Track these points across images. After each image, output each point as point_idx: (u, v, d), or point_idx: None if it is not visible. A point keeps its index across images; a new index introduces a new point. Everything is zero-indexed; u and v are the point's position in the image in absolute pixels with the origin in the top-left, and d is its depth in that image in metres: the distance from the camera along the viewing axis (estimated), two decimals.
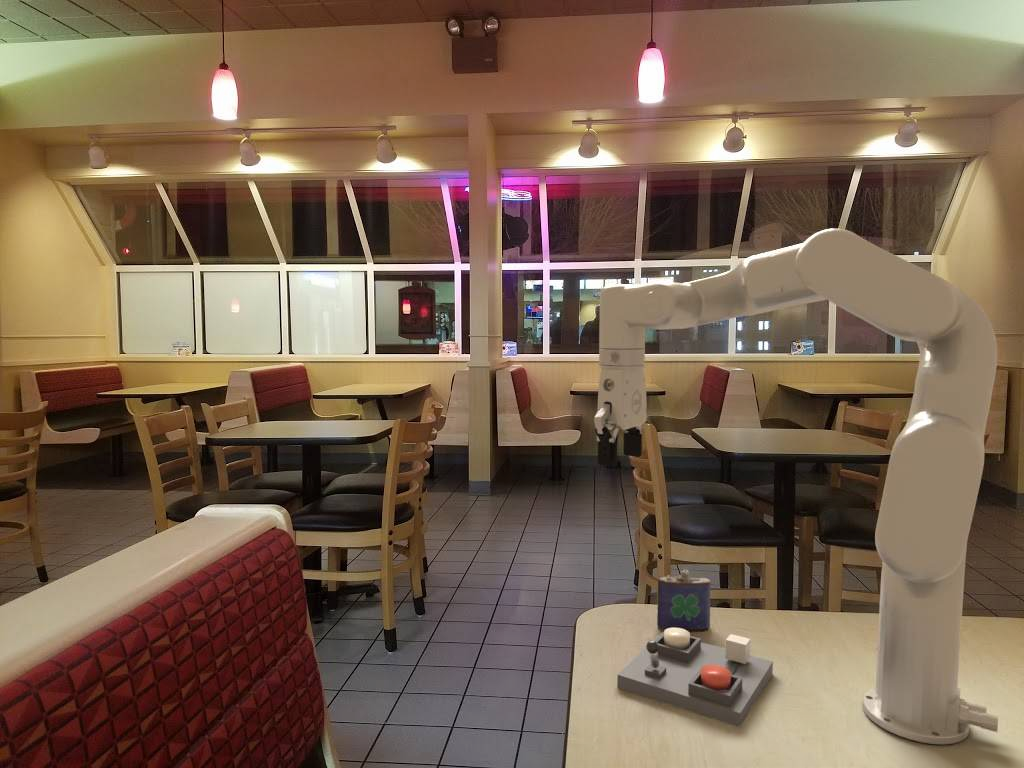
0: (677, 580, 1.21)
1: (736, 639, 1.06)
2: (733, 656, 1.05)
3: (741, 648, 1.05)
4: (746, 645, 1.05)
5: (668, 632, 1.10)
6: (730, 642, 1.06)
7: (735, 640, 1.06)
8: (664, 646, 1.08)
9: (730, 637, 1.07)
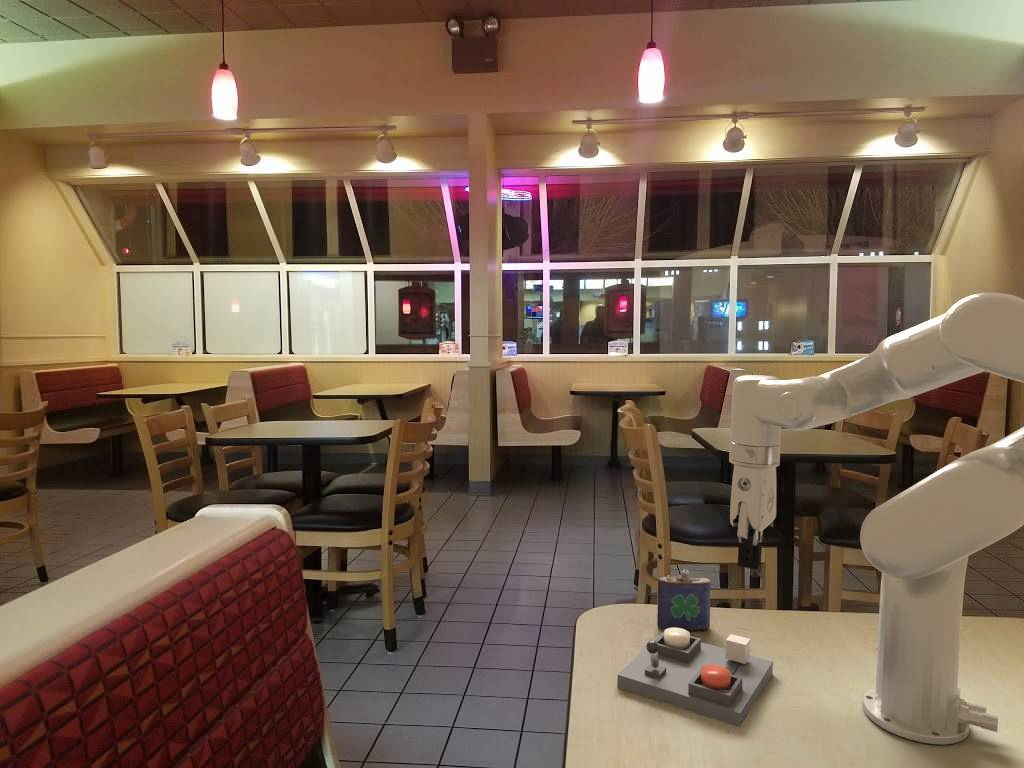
0: (677, 580, 1.21)
1: (736, 639, 1.06)
2: (733, 656, 1.05)
3: (741, 648, 1.05)
4: (746, 645, 1.05)
5: (668, 632, 1.10)
6: (730, 642, 1.06)
7: (735, 640, 1.06)
8: (664, 646, 1.08)
9: (730, 637, 1.07)
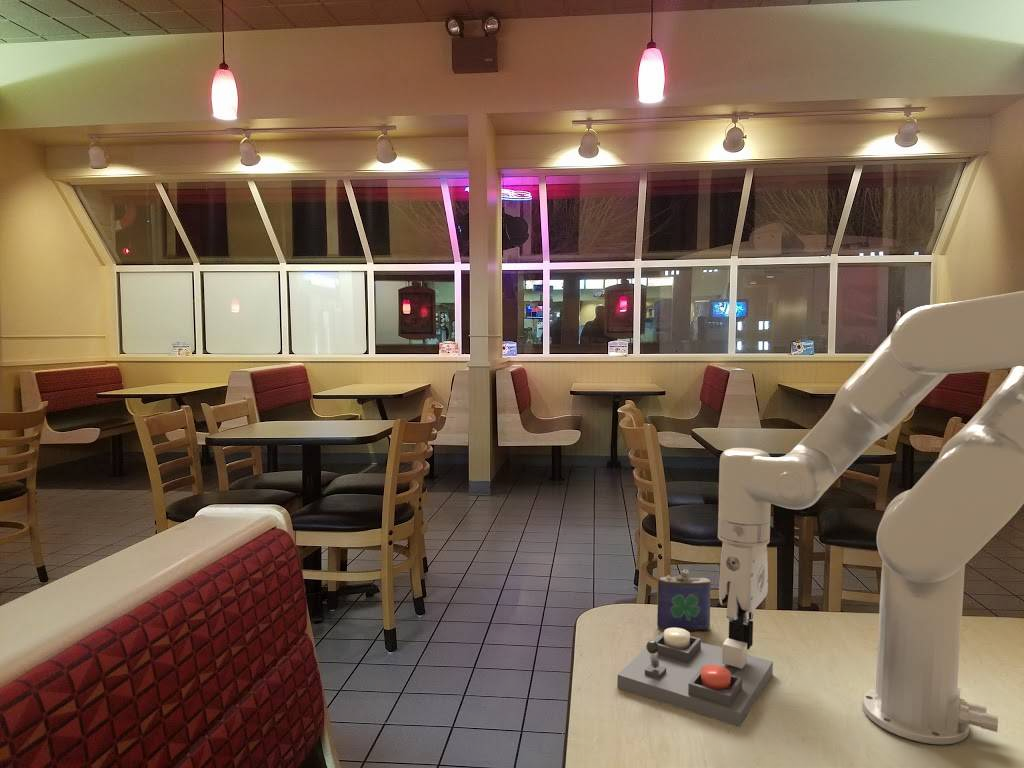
0: (677, 580, 1.21)
1: (733, 643, 1.05)
2: (730, 660, 1.04)
3: (738, 652, 1.03)
4: (743, 649, 1.03)
5: (668, 632, 1.10)
6: (727, 646, 1.04)
7: (732, 644, 1.04)
8: (664, 646, 1.08)
9: (727, 641, 1.05)
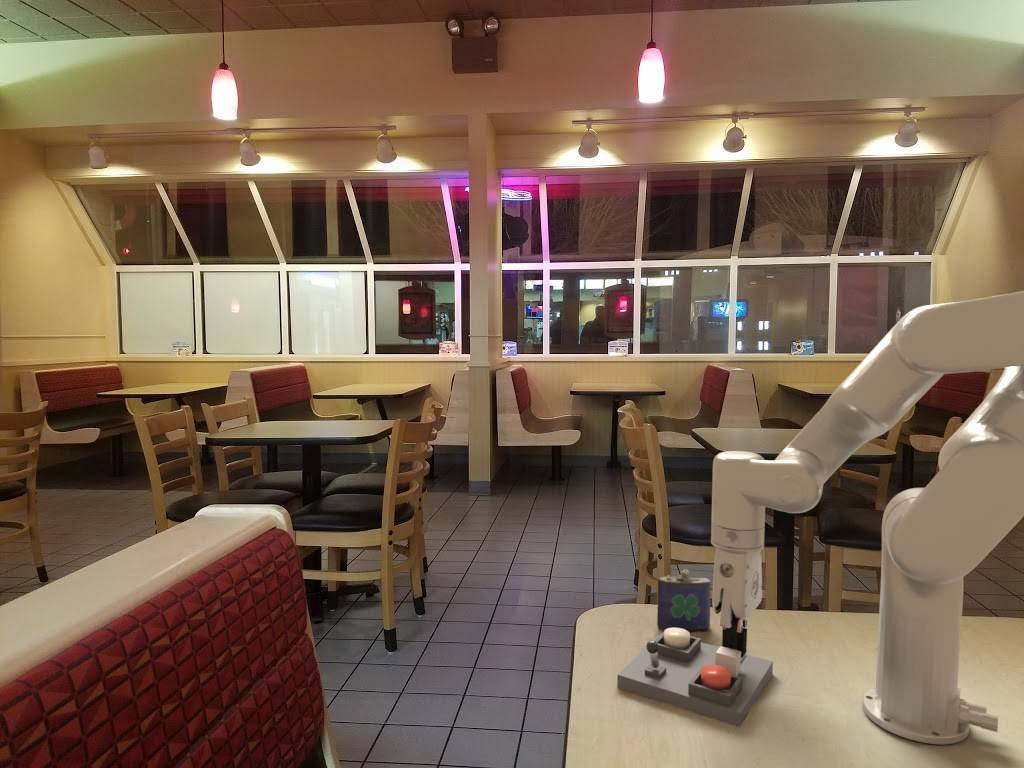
0: (677, 580, 1.21)
1: (726, 652, 1.02)
2: None
3: (732, 661, 1.01)
4: (736, 658, 1.01)
5: (668, 632, 1.10)
6: (720, 655, 1.02)
7: (726, 653, 1.02)
8: (664, 646, 1.08)
9: (720, 649, 1.03)
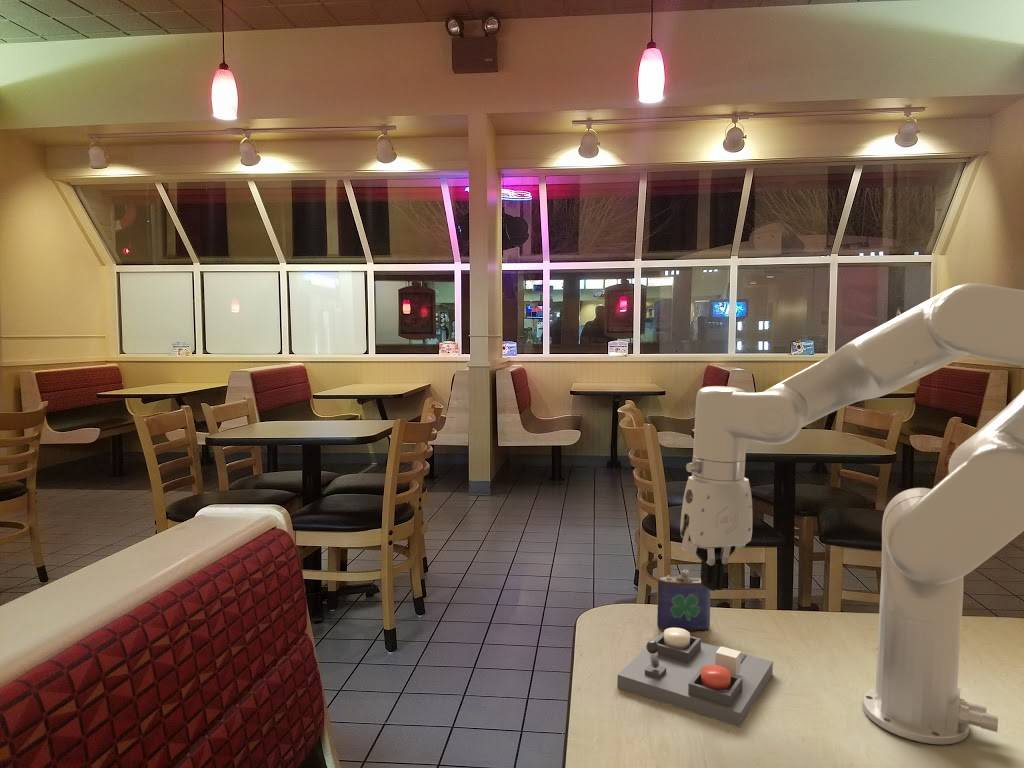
0: (677, 580, 1.21)
1: (726, 652, 1.02)
2: None
3: (731, 661, 1.01)
4: (736, 658, 1.01)
5: (668, 632, 1.10)
6: (720, 655, 1.02)
7: (725, 653, 1.02)
8: (664, 646, 1.08)
9: (720, 650, 1.03)
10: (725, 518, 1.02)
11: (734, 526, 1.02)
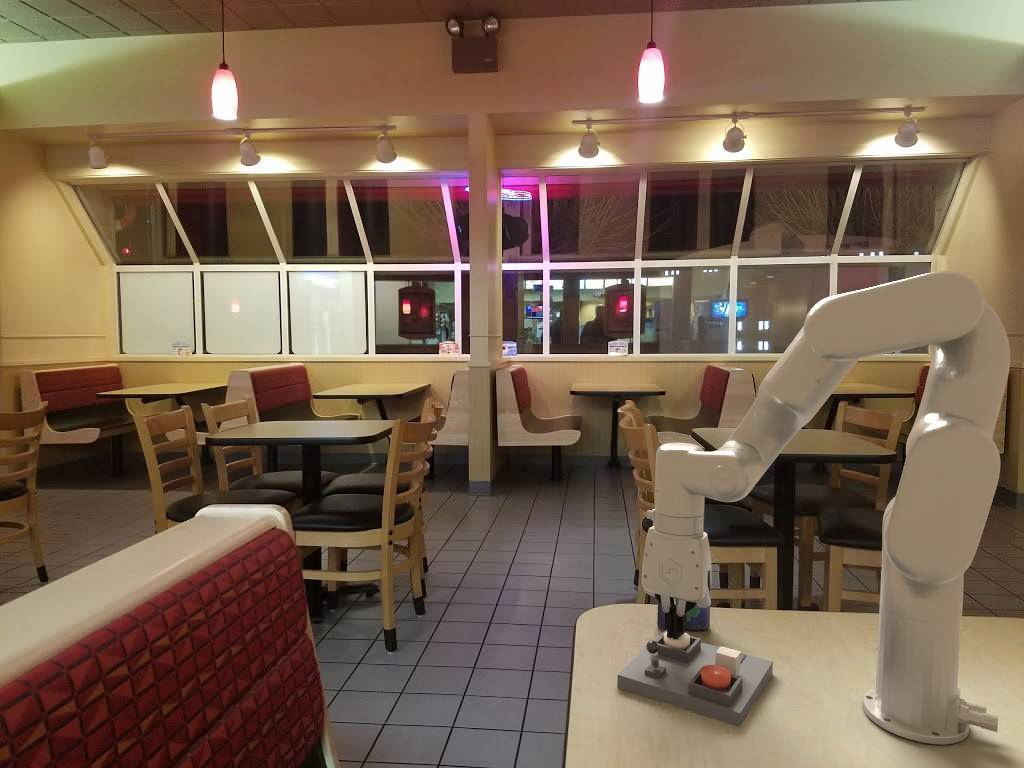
0: None
1: (726, 652, 1.02)
2: None
3: (731, 661, 1.01)
4: (736, 658, 1.01)
5: None
6: (720, 655, 1.02)
7: (725, 653, 1.02)
8: (664, 646, 1.08)
9: (720, 650, 1.03)
10: (669, 569, 1.06)
11: (679, 580, 1.06)
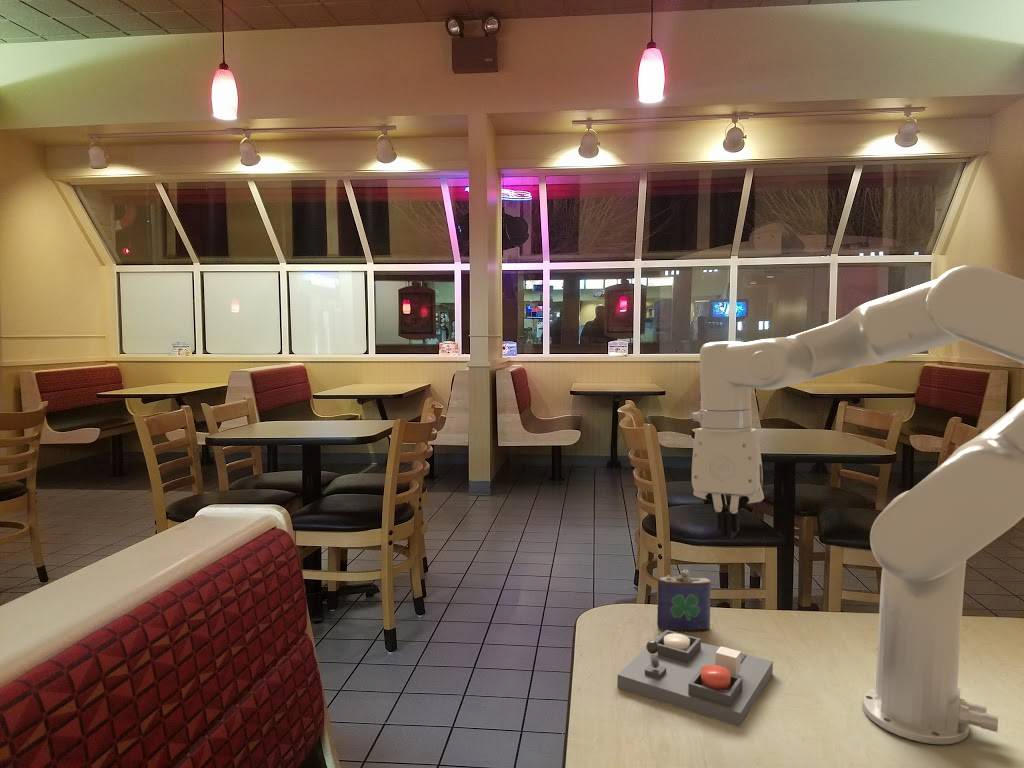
0: (677, 580, 1.21)
1: (726, 652, 1.02)
2: None
3: (731, 661, 1.01)
4: (736, 658, 1.01)
5: (668, 638, 1.10)
6: (720, 655, 1.02)
7: (725, 653, 1.02)
8: (664, 646, 1.08)
9: (720, 650, 1.03)
10: (720, 466, 1.06)
11: (731, 475, 1.06)
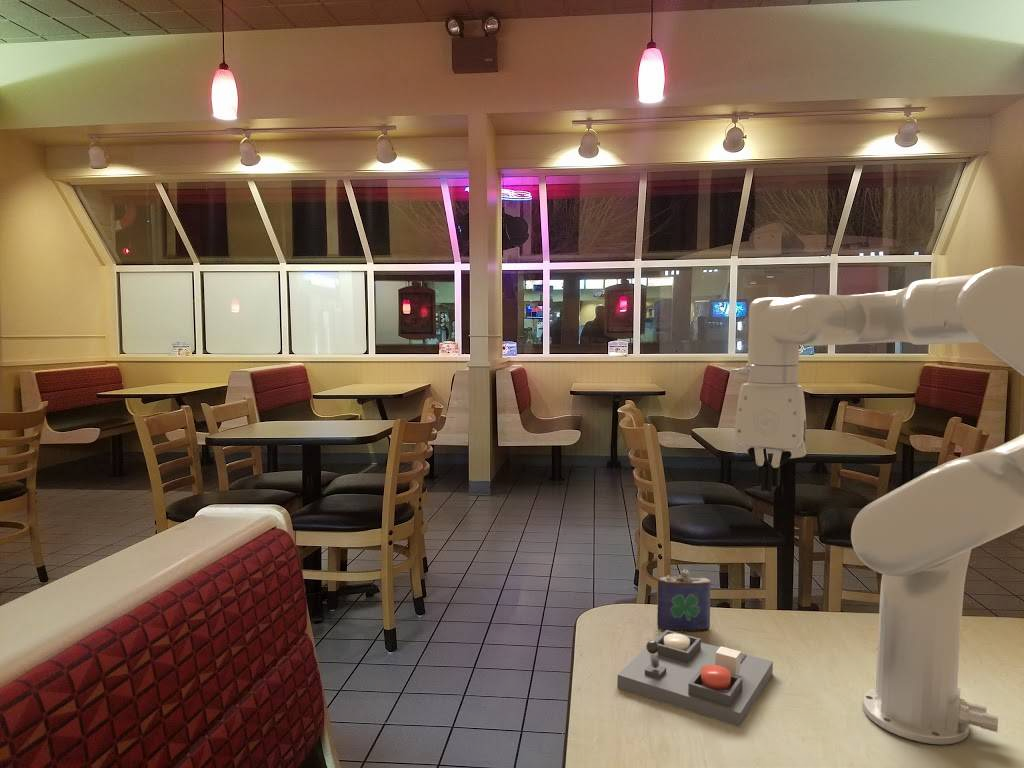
0: (677, 580, 1.21)
1: (726, 652, 1.02)
2: None
3: (731, 661, 1.01)
4: (736, 658, 1.01)
5: (668, 638, 1.10)
6: (720, 655, 1.02)
7: (725, 653, 1.02)
8: (664, 646, 1.08)
9: (720, 650, 1.03)
10: (764, 420, 1.08)
11: (775, 429, 1.07)
